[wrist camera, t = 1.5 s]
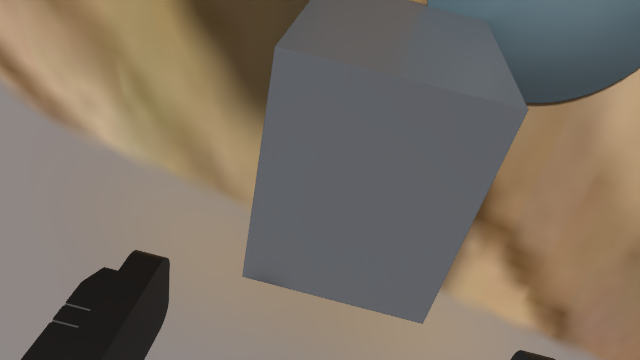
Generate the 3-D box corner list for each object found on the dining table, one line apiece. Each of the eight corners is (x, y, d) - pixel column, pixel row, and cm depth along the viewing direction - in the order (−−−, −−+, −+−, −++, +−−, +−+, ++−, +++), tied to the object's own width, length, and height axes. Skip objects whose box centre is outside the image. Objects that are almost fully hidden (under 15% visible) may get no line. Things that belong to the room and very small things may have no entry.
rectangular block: (485, 19, 20) (528, 109, 12) (419, 188, 25) (422, 323, 17) (325, -20, 20) (275, 46, 12) (292, 156, 25) (242, 276, 17)
